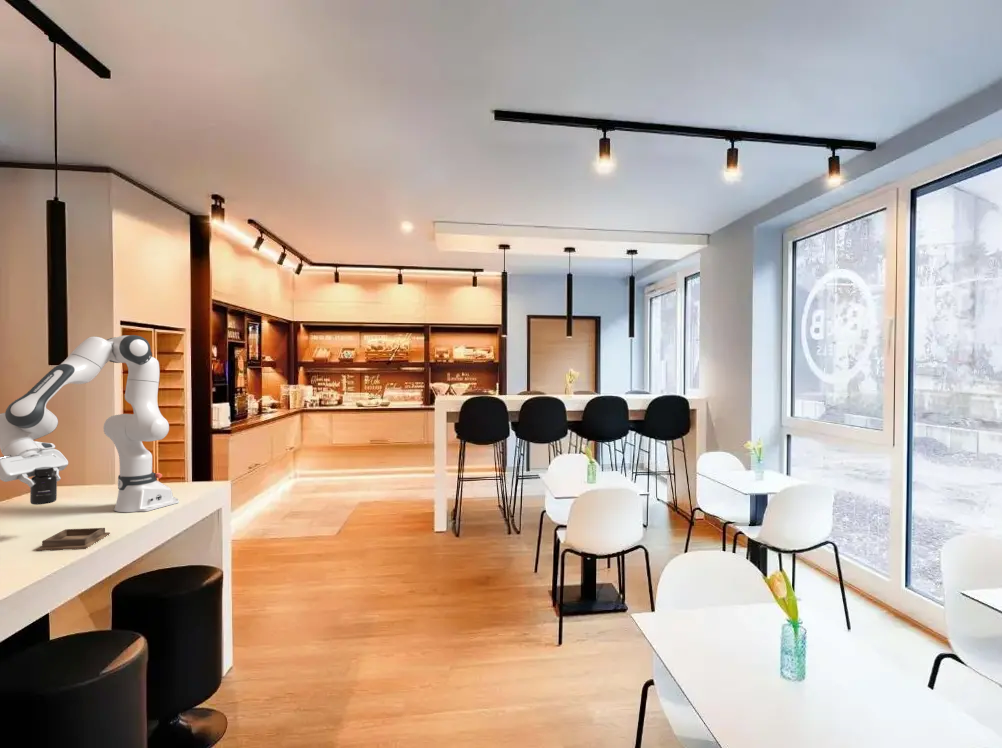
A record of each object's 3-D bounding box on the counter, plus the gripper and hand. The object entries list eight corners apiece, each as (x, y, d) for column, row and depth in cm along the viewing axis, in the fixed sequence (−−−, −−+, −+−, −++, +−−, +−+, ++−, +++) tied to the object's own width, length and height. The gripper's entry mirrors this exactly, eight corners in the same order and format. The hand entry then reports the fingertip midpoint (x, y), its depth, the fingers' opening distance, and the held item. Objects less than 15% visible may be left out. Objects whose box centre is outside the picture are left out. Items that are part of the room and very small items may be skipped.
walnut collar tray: (63, 536, 176) (63, 528, 176) (109, 534, 179) (109, 526, 179) (36, 551, 162) (36, 542, 162) (86, 548, 165) (86, 540, 165)
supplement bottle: (40, 505, 172) (40, 470, 171) (25, 504, 173) (24, 469, 173) (62, 500, 178) (61, 466, 178) (46, 499, 180) (46, 465, 180)
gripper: (-7, 452, 167) (17, 484, 165) (58, 442, 187) (80, 470, 185) (-18, 465, 167) (6, 496, 166) (48, 454, 188) (70, 482, 186)
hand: (46, 482), depth 176 cm, fingers closed on supplement bottle, 6 cm apart
